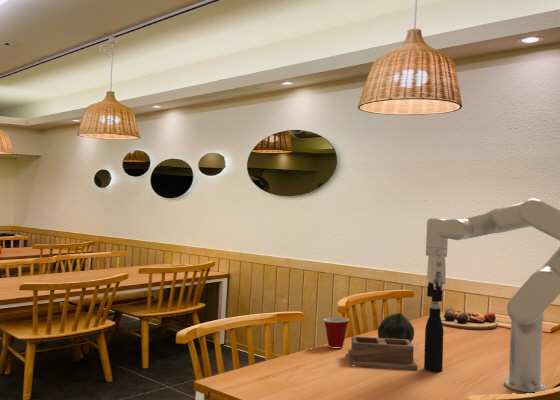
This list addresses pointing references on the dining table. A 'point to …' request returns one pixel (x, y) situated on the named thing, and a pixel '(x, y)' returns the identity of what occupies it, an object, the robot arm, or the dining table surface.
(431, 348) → the wine bottle
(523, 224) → the robot arm
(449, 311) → the wooden plate with food
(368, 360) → the bottle rack
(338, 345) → the plastic cup
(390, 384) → the dining table surface
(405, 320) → the squash
